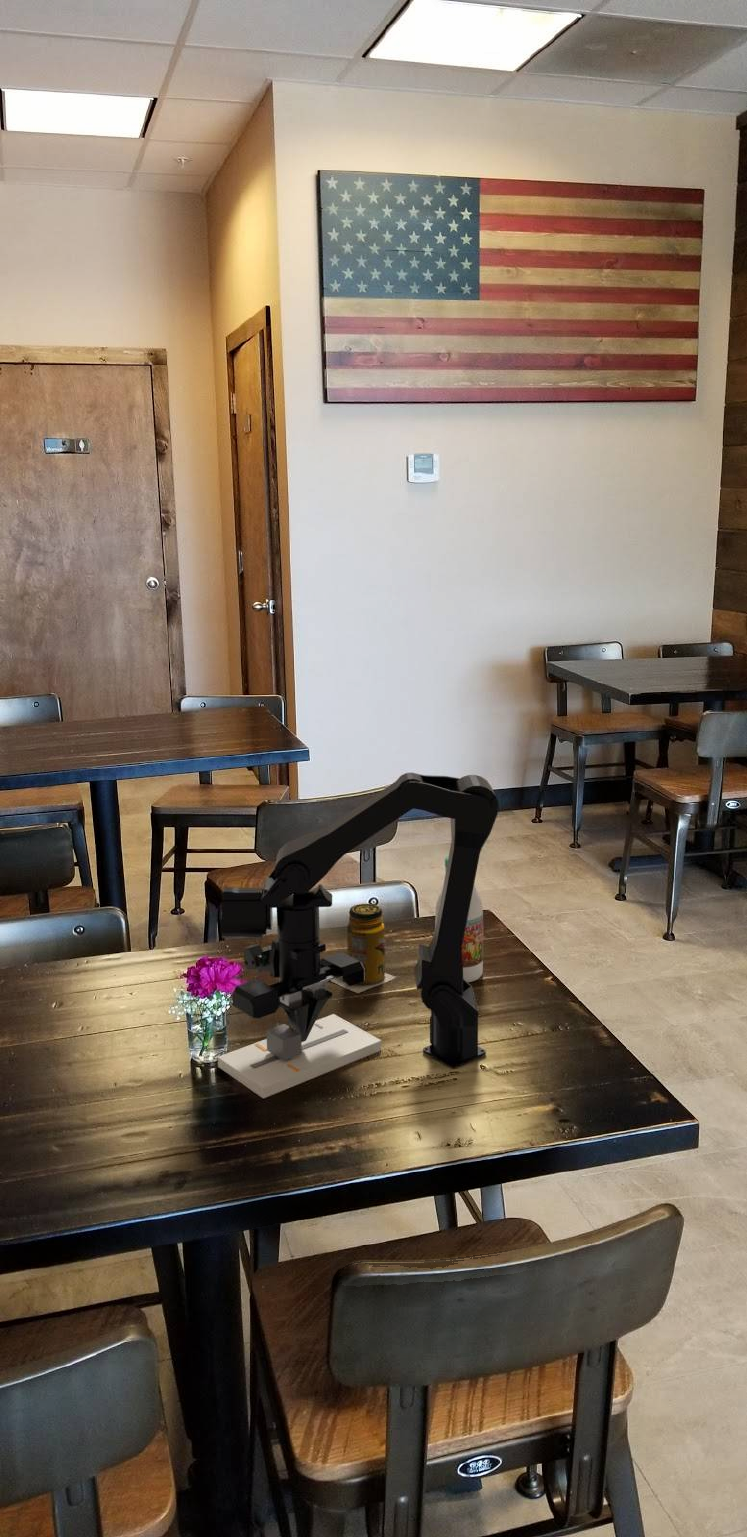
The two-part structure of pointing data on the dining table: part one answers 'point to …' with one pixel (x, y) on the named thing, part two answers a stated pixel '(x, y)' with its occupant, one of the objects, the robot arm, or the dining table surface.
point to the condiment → (366, 946)
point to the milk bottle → (470, 936)
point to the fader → (284, 1042)
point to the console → (300, 1057)
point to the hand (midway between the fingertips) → (301, 1040)
